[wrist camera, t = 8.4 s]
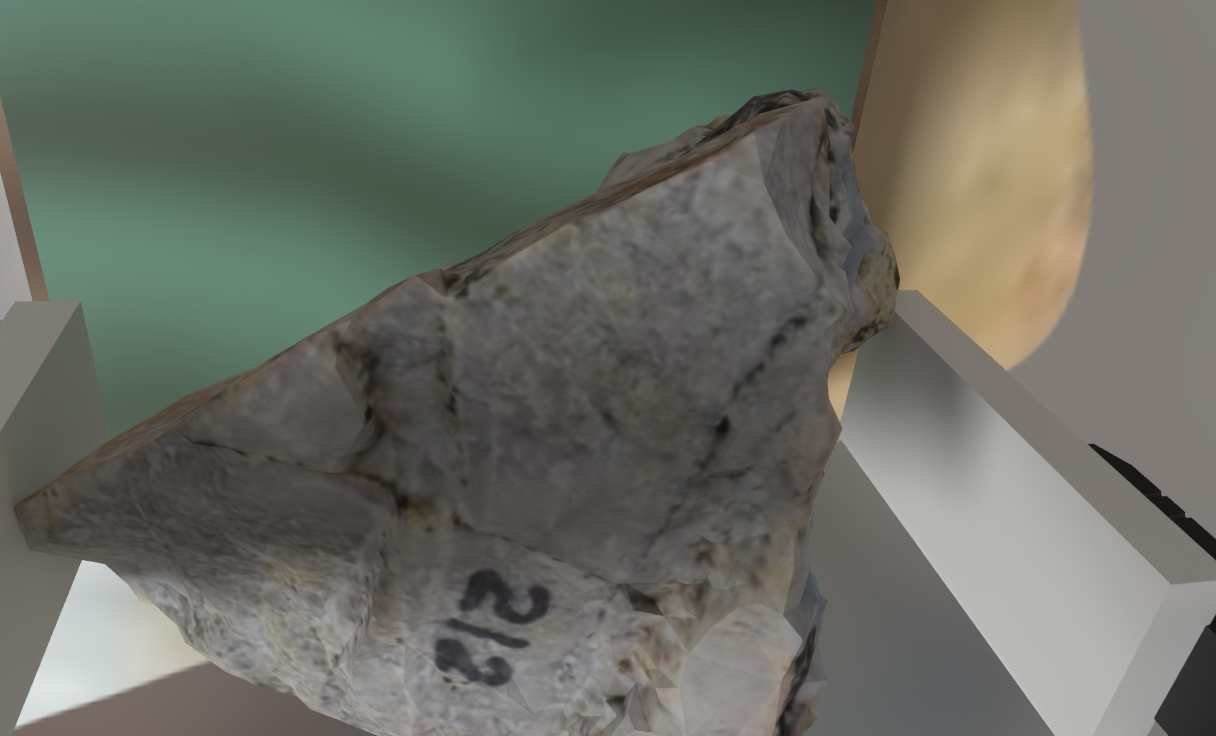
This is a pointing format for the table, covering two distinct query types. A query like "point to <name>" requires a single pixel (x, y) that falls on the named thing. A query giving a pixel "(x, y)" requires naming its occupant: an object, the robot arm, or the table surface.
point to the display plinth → (343, 147)
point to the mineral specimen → (531, 463)
